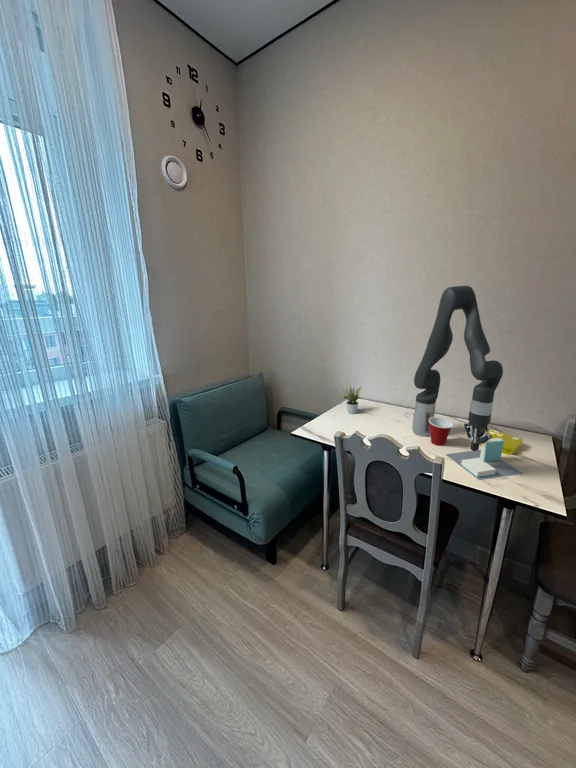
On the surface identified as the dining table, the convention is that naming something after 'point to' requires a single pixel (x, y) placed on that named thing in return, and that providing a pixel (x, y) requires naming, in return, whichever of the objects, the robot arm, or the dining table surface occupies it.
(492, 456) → the tile
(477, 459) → the tile
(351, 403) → the house plant
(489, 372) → the robot arm
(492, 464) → the mat
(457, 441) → the dining table surface
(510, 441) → the element tile
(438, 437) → the plastic cup
